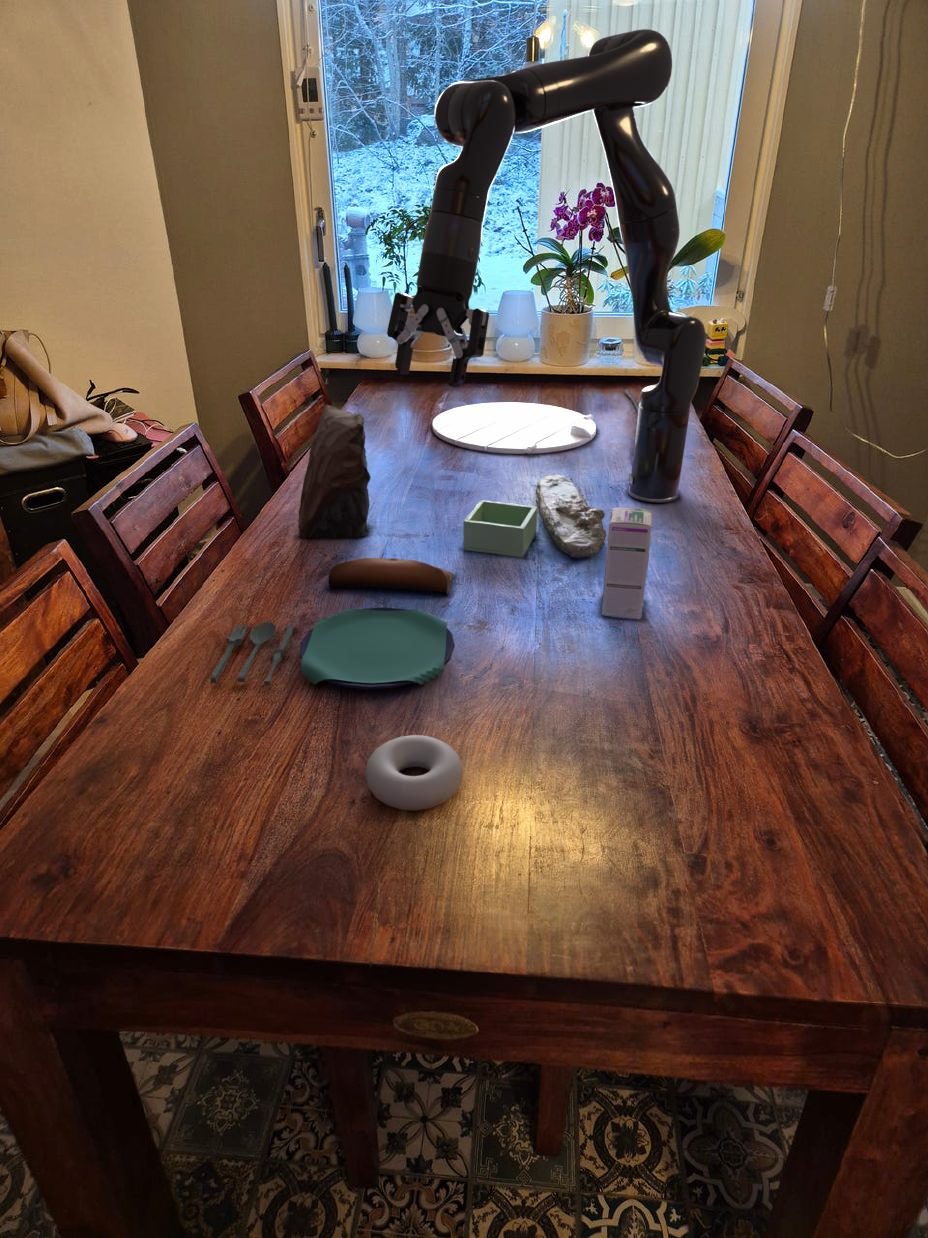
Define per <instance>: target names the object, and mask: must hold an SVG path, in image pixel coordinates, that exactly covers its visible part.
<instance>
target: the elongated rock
mask: <svg viewBox="0 0 928 1238" xmlns="http://www.w3.org/2000/svg"><path fill="white" fill-rule="evenodd" d="M535 488H536V489H535V494H536V499H535V502H536V505H538V506H539V508H540V509H539V514H540V518H542V519H543V521H544V529H545V530H546V531H547V532H548V534H549V535H550V536H551V538H552V540H553V541H554V544H555V546H556V547H557V548H559V549H560V551H561V552H563V553H564V554H566V555H568V556H570V557H571V558H588V557H593V556H597V555H598V553H599V552H598V551H599V549H601V550H602V549H603V548H604V547H605V543H606V542H605V541H606V538H607V531H606V529H605V528H604V525H603V521H602V520H603V519H604V518H605V517H606V516H605V515H606V514H605V511H604V510H603V509H601V508H597V507H591V506H589V505H588V502H587V499H586V497H585V495H584V494H582V493H583V492H582V491H581V489H580V488H579V486H576V484H575V483H574V480H573V479H572V478H571V477H570V478H569V477H568V476H566V475H562V474H560V475H559V474H551V475H546V476H544V477H542V478H541V479H540V480H538V482H537V484H536V487H535Z"/></svg>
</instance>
